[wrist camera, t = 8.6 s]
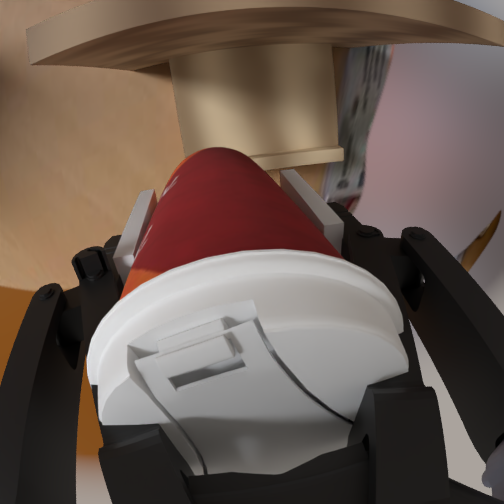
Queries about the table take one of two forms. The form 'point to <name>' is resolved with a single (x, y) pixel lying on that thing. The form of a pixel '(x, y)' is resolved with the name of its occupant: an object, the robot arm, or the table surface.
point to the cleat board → (251, 60)
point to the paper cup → (242, 326)
